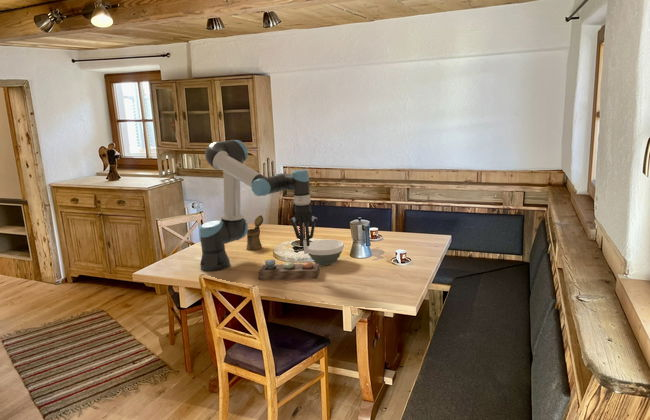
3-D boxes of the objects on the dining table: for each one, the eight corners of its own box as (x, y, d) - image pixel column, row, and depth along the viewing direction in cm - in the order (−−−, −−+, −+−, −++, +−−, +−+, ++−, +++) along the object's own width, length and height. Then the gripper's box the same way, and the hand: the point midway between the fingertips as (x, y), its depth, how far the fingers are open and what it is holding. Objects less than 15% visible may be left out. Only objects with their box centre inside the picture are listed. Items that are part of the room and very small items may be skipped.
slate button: (264, 271, 222) (264, 262, 221) (267, 268, 227) (266, 259, 226) (274, 271, 222) (273, 262, 221) (276, 268, 226) (276, 259, 225)
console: (258, 279, 221) (257, 271, 220) (264, 272, 230) (263, 264, 230) (317, 278, 217) (316, 270, 216) (320, 271, 227) (319, 263, 226)
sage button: (283, 274, 221) (282, 265, 220) (285, 271, 226) (285, 262, 225) (293, 274, 221) (292, 265, 220) (295, 271, 225) (294, 262, 224)
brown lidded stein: (269, 244, 279) (267, 215, 276) (255, 251, 268) (252, 220, 265) (258, 243, 284) (255, 214, 280) (243, 249, 273) (240, 219, 269)
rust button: (302, 274, 220) (301, 265, 219) (304, 270, 225) (303, 262, 224) (312, 274, 219) (311, 265, 219) (313, 270, 224) (313, 261, 223)
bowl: (323, 254, 254) (322, 237, 252) (352, 259, 241) (351, 242, 239) (298, 264, 239) (297, 246, 237) (328, 271, 227) (327, 252, 225)
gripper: (287, 205, 213) (290, 255, 217) (315, 204, 211) (318, 254, 216) (290, 202, 220) (294, 250, 225) (317, 201, 218) (320, 250, 223)
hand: (306, 252), depth 220 cm, fingers closed
